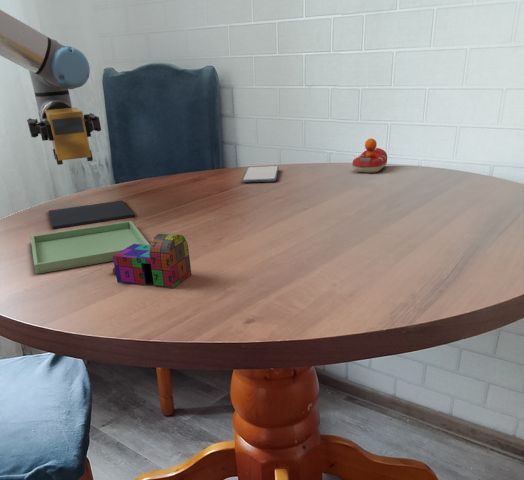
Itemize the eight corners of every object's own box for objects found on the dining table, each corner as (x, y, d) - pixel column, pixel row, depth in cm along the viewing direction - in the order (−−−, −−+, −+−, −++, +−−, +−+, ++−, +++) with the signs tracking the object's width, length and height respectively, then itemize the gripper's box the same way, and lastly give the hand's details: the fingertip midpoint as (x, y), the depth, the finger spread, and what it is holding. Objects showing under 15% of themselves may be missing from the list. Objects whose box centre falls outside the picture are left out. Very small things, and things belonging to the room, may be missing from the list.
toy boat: (389, 165, 144) (391, 135, 140) (378, 174, 135) (380, 142, 131) (361, 164, 147) (363, 135, 143) (349, 173, 138) (350, 141, 134)
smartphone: (242, 179, 133) (247, 166, 146) (242, 183, 134) (248, 170, 146) (275, 178, 132) (278, 165, 145) (275, 182, 133) (278, 169, 146)
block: (199, 268, 82) (194, 224, 79) (172, 288, 76) (166, 241, 72) (132, 261, 86) (125, 219, 83) (102, 280, 80) (93, 235, 77)
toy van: (58, 166, 101) (46, 114, 97) (54, 158, 110) (43, 110, 106) (94, 162, 103) (84, 111, 99) (87, 154, 112) (78, 107, 108)
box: (36, 274, 84) (33, 264, 83) (32, 244, 98) (30, 235, 97) (151, 254, 89) (150, 245, 89) (132, 228, 103) (131, 220, 103)
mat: (53, 228, 106) (52, 226, 106) (48, 212, 117) (48, 210, 117) (134, 216, 111) (133, 214, 111) (122, 202, 122) (122, 200, 122)
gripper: (107, 133, 123) (124, 146, 104) (18, 142, 117) (20, 158, 99) (100, 97, 120) (117, 104, 101) (9, 105, 114) (8, 113, 95)
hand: (69, 130), depth 100 cm, fingers closed on toy van, 6 cm apart
